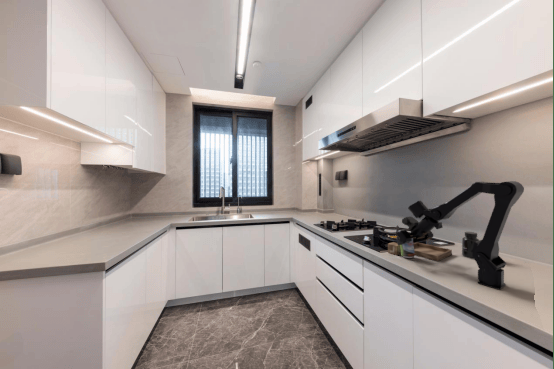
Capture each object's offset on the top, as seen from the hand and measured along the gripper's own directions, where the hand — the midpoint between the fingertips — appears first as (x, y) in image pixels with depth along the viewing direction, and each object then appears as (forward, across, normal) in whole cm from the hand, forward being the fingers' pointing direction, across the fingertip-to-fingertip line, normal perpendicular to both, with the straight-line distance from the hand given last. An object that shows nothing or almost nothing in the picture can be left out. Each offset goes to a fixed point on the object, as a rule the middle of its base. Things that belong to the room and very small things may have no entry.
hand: (404, 243), depth 121 cm
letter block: (+9, 0, +1) cm, 9 cm away
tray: (+4, -13, +6) cm, 15 cm away
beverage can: (+4, 0, +6) cm, 7 cm away
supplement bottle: (-5, -28, +15) cm, 32 cm away
